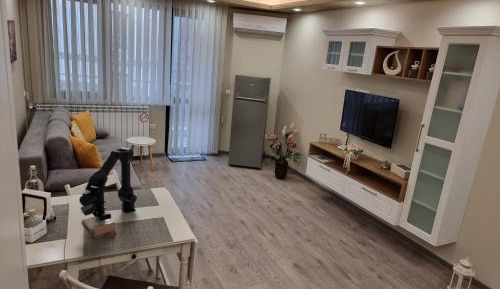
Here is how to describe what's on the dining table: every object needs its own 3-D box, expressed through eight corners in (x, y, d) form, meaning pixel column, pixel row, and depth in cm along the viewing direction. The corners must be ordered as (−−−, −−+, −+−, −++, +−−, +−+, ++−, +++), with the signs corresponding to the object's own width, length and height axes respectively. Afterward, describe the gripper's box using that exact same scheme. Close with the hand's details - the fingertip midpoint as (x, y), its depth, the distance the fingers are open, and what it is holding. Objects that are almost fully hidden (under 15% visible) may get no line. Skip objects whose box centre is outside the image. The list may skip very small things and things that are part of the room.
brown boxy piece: (100, 217, 199) (99, 207, 197) (116, 233, 184) (116, 222, 182) (81, 222, 192) (81, 211, 190) (97, 239, 177) (96, 228, 175)
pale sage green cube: (106, 225, 188) (105, 217, 186) (110, 229, 184) (109, 221, 183) (94, 228, 184) (94, 220, 182) (98, 232, 180) (98, 224, 179)
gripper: (76, 194, 183) (77, 220, 188) (88, 209, 171) (89, 236, 175) (97, 190, 191) (98, 215, 195) (111, 204, 178) (111, 230, 183)
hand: (98, 224), depth 187 cm, fingers closed
